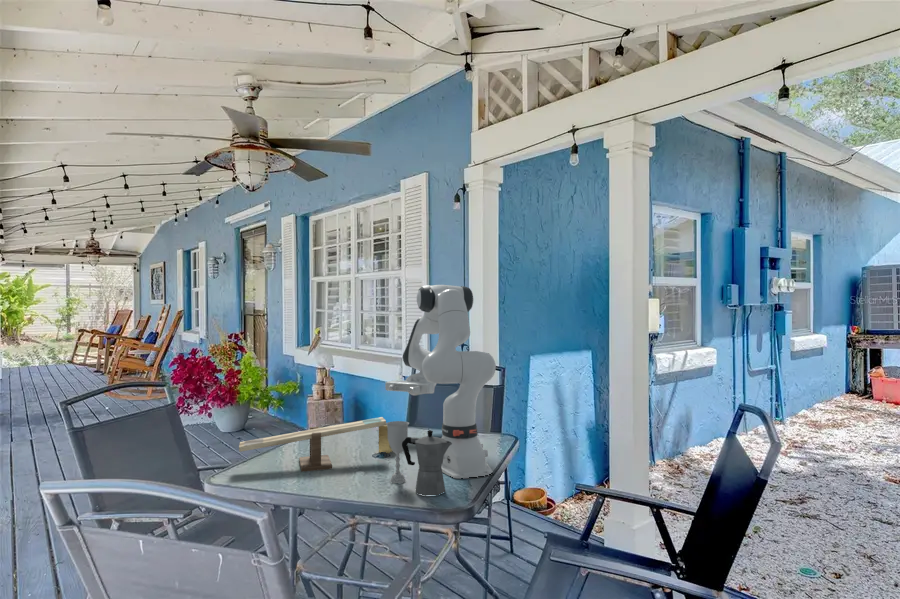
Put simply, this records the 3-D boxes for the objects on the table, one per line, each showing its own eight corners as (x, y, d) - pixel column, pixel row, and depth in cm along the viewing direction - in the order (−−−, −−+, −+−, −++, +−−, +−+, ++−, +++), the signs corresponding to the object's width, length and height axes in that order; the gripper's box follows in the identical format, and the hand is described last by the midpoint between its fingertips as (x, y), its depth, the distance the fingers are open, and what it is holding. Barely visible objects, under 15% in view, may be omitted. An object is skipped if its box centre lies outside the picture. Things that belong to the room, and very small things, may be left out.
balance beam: (386, 425, 191) (386, 420, 191) (239, 451, 176) (238, 446, 176) (382, 421, 198) (382, 416, 198) (240, 446, 182) (240, 441, 182)
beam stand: (332, 468, 181) (332, 433, 182) (301, 471, 178) (301, 435, 178) (328, 458, 195) (327, 424, 195) (299, 460, 192) (299, 426, 192)
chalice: (409, 477, 172) (409, 421, 172) (409, 484, 165) (408, 425, 165) (386, 477, 171) (386, 421, 172) (385, 484, 165) (384, 425, 165)
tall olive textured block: (394, 450, 205) (394, 424, 205) (389, 453, 201) (389, 426, 201) (384, 449, 206) (384, 423, 207) (378, 452, 202) (378, 425, 203)
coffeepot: (456, 488, 161) (455, 428, 162) (447, 499, 152) (447, 435, 152) (407, 484, 165) (407, 425, 166) (396, 494, 156) (396, 432, 157)
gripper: (394, 375, 232) (378, 380, 219) (437, 378, 225) (423, 382, 212) (394, 390, 232) (378, 395, 219) (437, 393, 225) (423, 398, 212)
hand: (401, 389), depth 215 cm, fingers open, 8 cm apart
